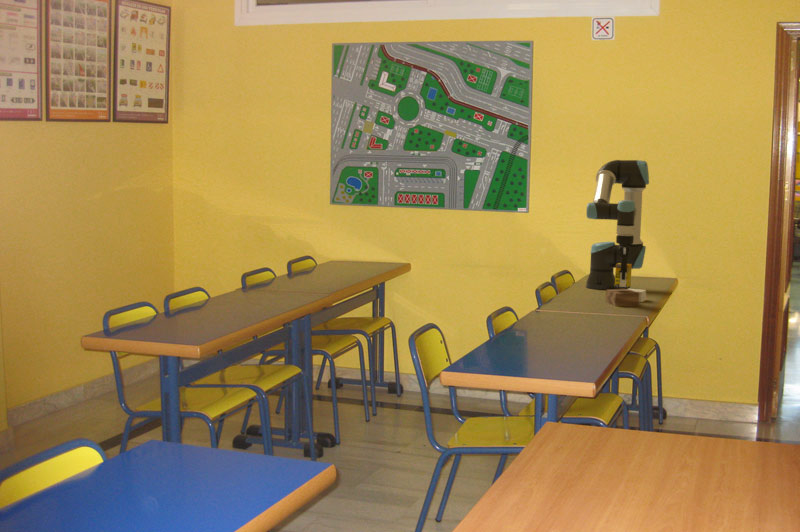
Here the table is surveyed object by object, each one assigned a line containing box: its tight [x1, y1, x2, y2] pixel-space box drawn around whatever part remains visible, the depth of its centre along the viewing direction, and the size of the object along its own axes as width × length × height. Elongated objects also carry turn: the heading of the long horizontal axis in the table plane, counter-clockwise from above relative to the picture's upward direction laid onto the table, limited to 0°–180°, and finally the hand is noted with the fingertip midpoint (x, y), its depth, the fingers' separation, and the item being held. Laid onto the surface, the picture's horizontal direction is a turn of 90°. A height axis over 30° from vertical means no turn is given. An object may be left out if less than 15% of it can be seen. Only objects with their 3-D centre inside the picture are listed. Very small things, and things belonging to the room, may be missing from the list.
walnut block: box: [605, 288, 640, 307], centre depth 392 cm, size 11×11×6 cm
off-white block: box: [628, 287, 647, 303], centre depth 403 cm, size 8×8×5 cm
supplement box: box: [614, 263, 633, 289], centre depth 391 cm, size 6×6×11 cm
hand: (622, 285), depth 392 cm, fingers closed on supplement box, 7 cm apart
